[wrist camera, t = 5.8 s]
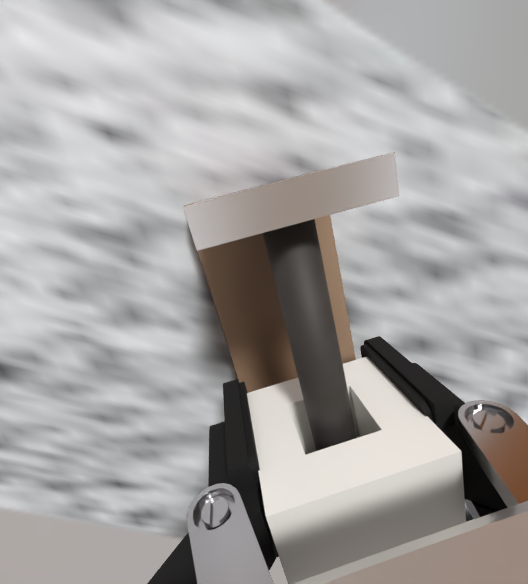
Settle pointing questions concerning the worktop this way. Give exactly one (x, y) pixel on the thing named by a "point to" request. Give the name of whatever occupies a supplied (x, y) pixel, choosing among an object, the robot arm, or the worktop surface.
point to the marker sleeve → (352, 475)
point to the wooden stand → (289, 282)
